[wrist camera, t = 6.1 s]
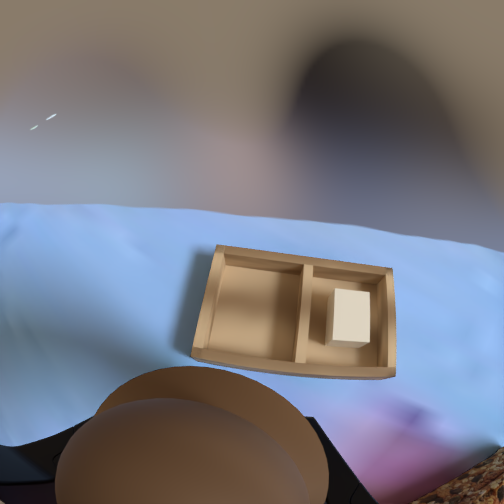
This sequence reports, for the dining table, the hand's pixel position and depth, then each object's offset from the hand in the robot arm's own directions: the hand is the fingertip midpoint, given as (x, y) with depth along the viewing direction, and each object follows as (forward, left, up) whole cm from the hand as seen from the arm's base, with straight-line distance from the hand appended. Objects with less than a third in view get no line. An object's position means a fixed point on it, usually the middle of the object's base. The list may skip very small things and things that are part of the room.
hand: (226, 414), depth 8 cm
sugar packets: (+9, -7, -13) cm, 17 cm away
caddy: (+9, -3, -13) cm, 16 cm away
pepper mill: (-1, 0, -7) cm, 7 cm away
